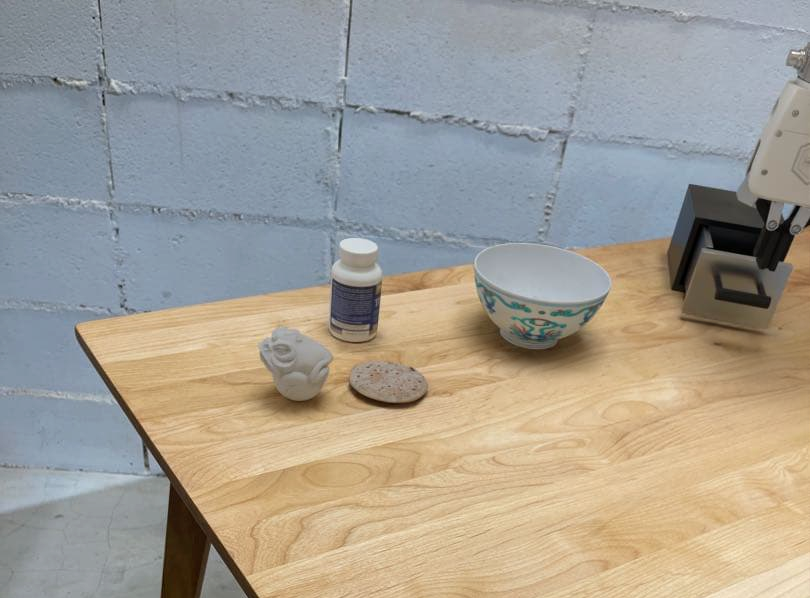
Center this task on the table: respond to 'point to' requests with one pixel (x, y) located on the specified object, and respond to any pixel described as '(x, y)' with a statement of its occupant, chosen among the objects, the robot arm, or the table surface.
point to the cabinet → (707, 223)
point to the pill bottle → (355, 291)
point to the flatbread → (388, 382)
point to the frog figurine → (295, 363)
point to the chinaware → (538, 291)
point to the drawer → (731, 278)
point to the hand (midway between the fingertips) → (764, 265)
